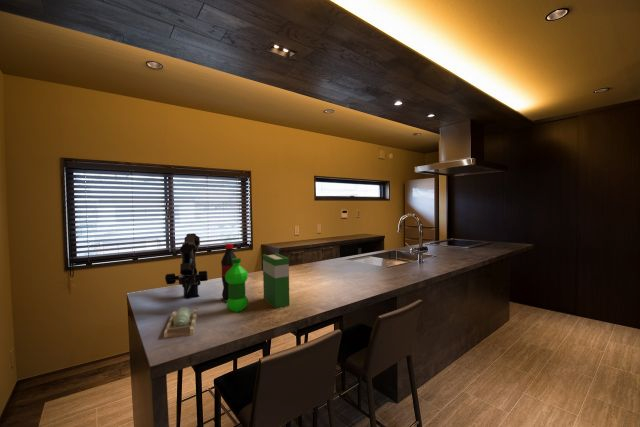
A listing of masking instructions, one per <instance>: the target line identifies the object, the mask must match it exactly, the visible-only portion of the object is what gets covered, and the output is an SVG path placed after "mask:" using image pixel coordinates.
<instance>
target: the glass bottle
mask: <svg viewBox="0 0 640 427" xmlns="http://www.w3.org/2000/svg"><path fill="white" fill-rule="evenodd" d="M190 313H192V312H191V309H190V308H189V307H187V306H182V307H179V308H178V310H176V316H175V319H174V326H175V327H183V326H187V325H188V322H189V318H190Z"/></svg>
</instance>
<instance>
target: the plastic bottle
mask: <svg viewBox="0 0 640 427" xmlns="http://www.w3.org/2000/svg"><path fill="white" fill-rule="evenodd" d="M232 263H233V266H232V267H231V268H230V269H229V270H228V271H227V272H226V275H225V280H226V282H227V283H228V296H229V298H228V300H227V301H226V306H227V308H228V309H229V310H230V311H232V312H236V313H240V312H242V311H243V310H244V309H245V308H246V307H247V305H248V303H249V302H248V298H247V295H246V281H247V279H248V275H249V274H248V271H247V269H245V268H244V267H243V266H241V263H242V260H241V257H236V258H233V259H232ZM239 311H240V312H239Z"/></svg>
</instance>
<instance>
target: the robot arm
mask: <svg viewBox="0 0 640 427" xmlns="http://www.w3.org/2000/svg"><path fill="white" fill-rule="evenodd" d="M183 240H184V243H182V245H181V246H180V248H179V254H180V256H181V263H180V266H179V267H180V269H179V271H180V272H179V274H178V275H176V273H175V272H174V273H173V272H171V273H166V274H165V277H164V279H165V283H166V285H174V284H176V282H177V281H178V285H181V286H182V288H183V297H184V298H186V299H192V298H197V297H200V295H199V286H200V285H201V284H202V283H201V282H207V281H209V280H208V279H209V278H208V275H209V274H208V271H207V270H197V261H196V257H197V256H196V253H197V252H198V250H199V249H200V248H199V246H200V245H201V239H200V236H198V235H197V234H196V233H195V232H194V233H187V234H186V236H185V237H184V239H183Z"/></svg>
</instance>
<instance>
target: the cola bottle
mask: <svg viewBox="0 0 640 427" xmlns="http://www.w3.org/2000/svg"><path fill="white" fill-rule="evenodd" d="M224 246H225V247H224V249H225V253H224V255H223V256H222V259H221V260H220V263H221V264H220V265H221V282H222V286H223V289H222V293H221V296H222V299H223V300H224V301H225V302H227V300H228V298H229V296H228V283H227V282H226V280H225V275H226V272H227V271H228V270H229V269H230V268H231V267H232V266H233V263H232V259H233V258H237V256H236V254H235V253H234V244H233V243H226V244H225V245H224Z"/></svg>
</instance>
